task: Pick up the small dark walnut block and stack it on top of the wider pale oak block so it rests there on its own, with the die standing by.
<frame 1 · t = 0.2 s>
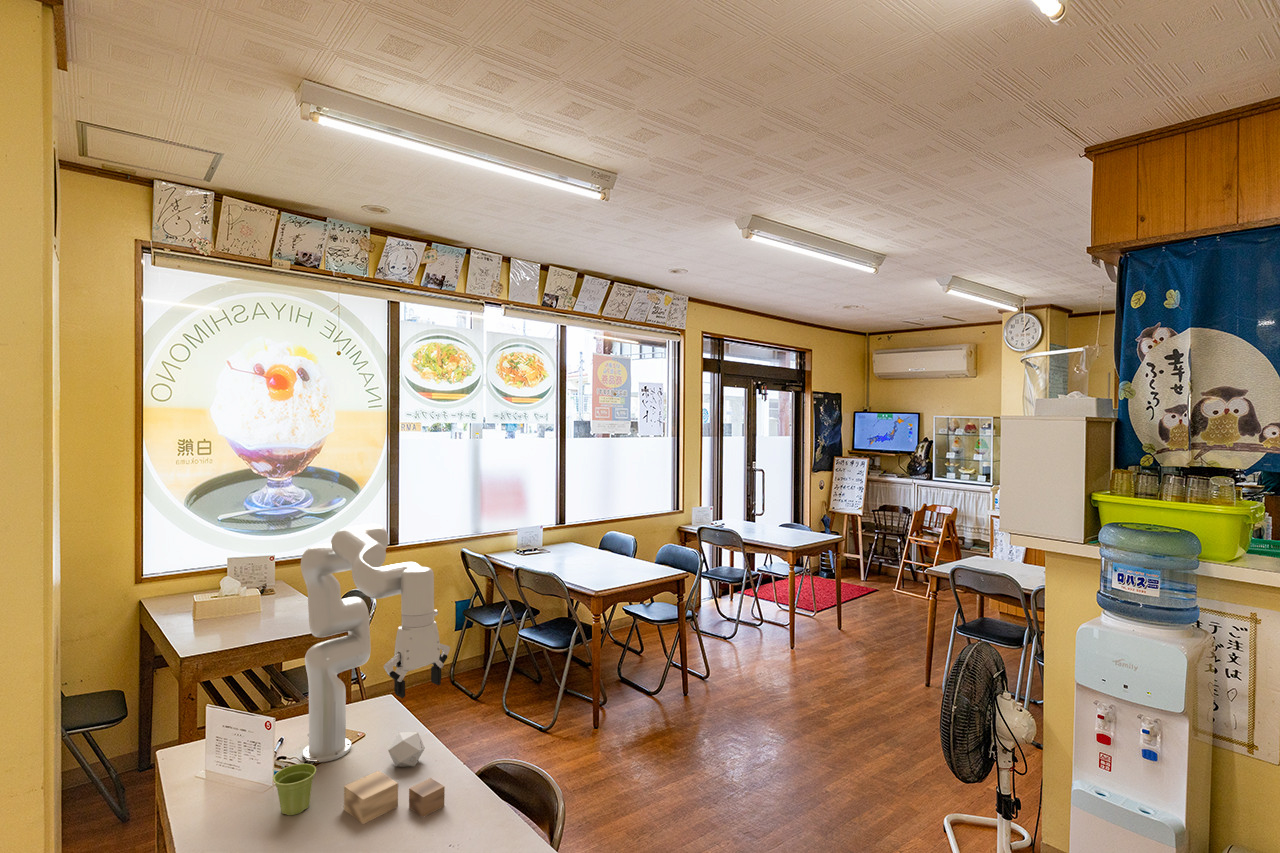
hand: (418, 689, 160), 30 cm above the table, fingers open, 9 cm apart
walnut block: (426, 807, 162), on the table
plant pot: (294, 809, 161), on the table
oak base: (371, 808, 162), on the table
die: (406, 764, 183), on the table
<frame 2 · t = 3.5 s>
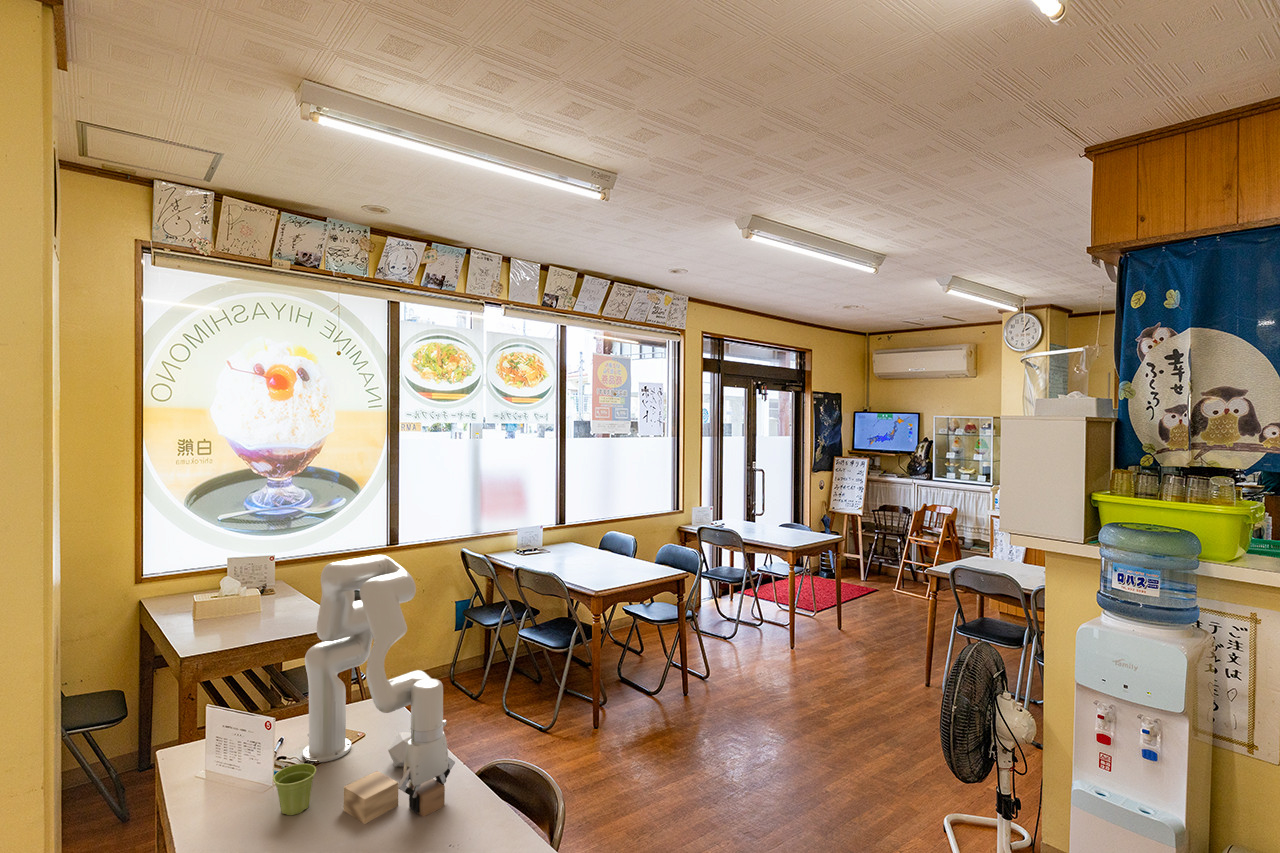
hand: (426, 803, 162), 1 cm above the table, fingers closed on walnut block, 6 cm apart
walnut block: (426, 806, 162), on the table, touching gripper
everything else where it was.
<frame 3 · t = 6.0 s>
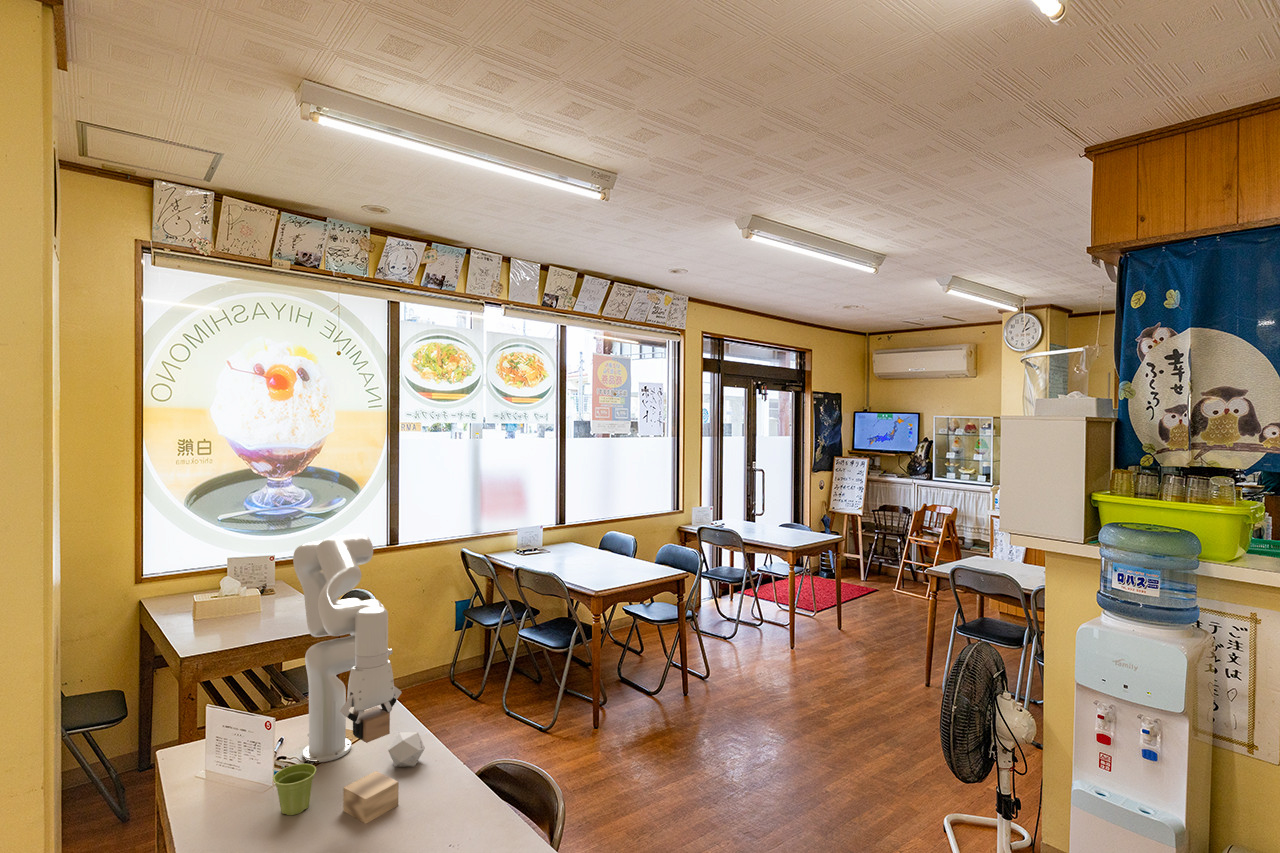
hand: (371, 731, 161), 19 cm above the table, fingers closed on walnut block, 6 cm apart
walnut block: (371, 734, 161), point 18 cm above the table, touching gripper
everything else where it was.
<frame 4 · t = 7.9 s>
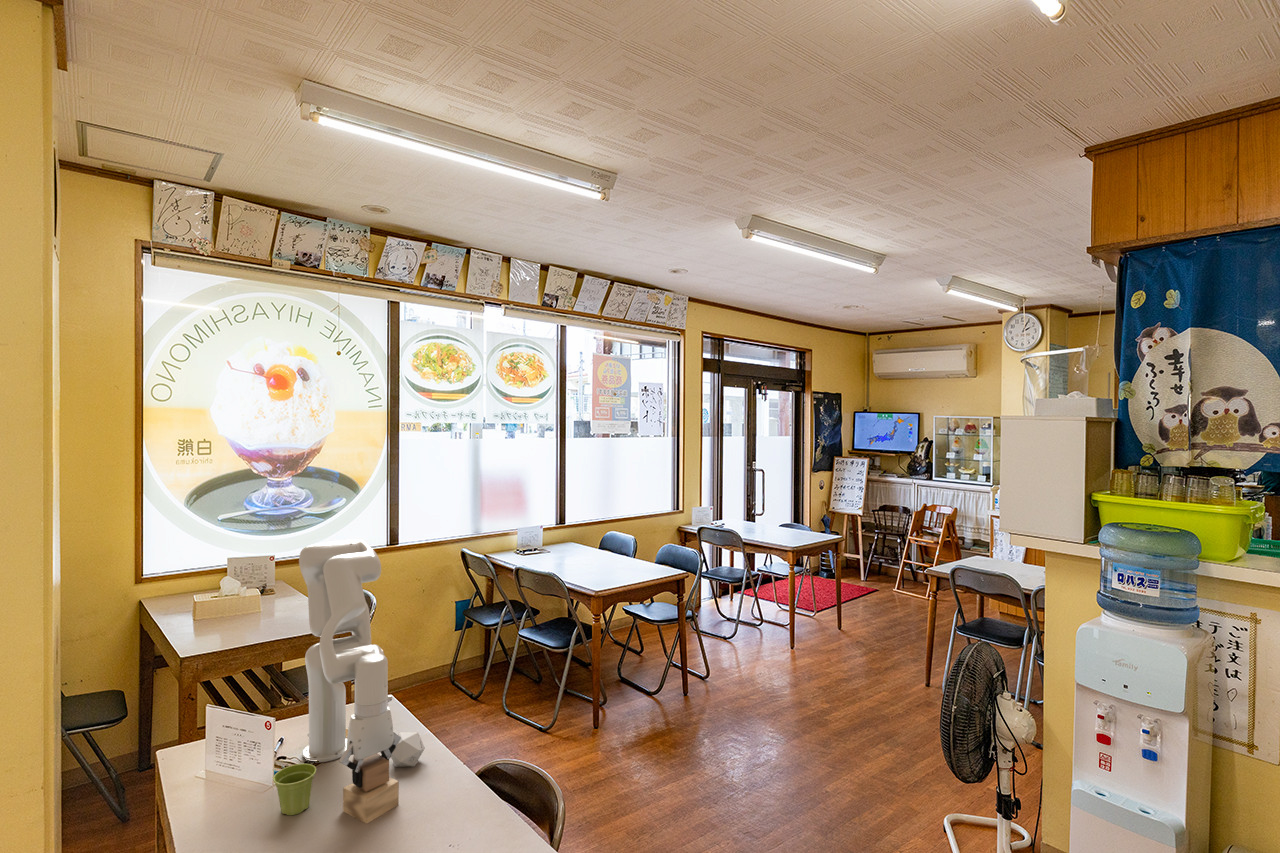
hand: (371, 778, 162), 7 cm above the table, fingers closed on walnut block, 6 cm apart
walnut block: (371, 781, 162), point 6 cm above the table, touching gripper
everything else where it was.
when the fingers open (7 cm above the table, at t = 9.0 s): walnut block stays where it is, resting on oak base.
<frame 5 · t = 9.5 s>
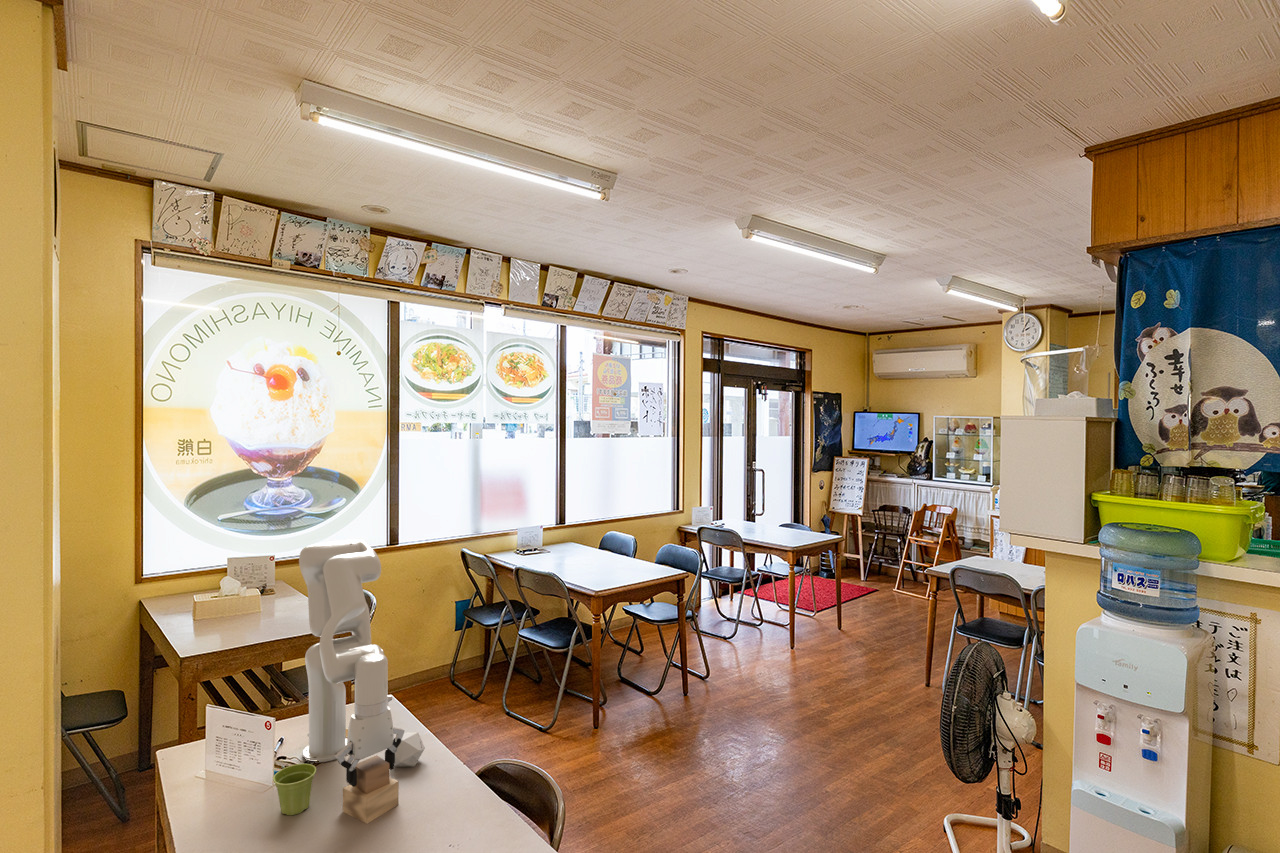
hand: (371, 775, 162), 8 cm above the table, fingers open, 9 cm apart
walnut block: (371, 784, 162), point 6 cm above the table, touching oak base
oak base: (370, 808, 162), on the table, touching walnut block
everything else where it was.
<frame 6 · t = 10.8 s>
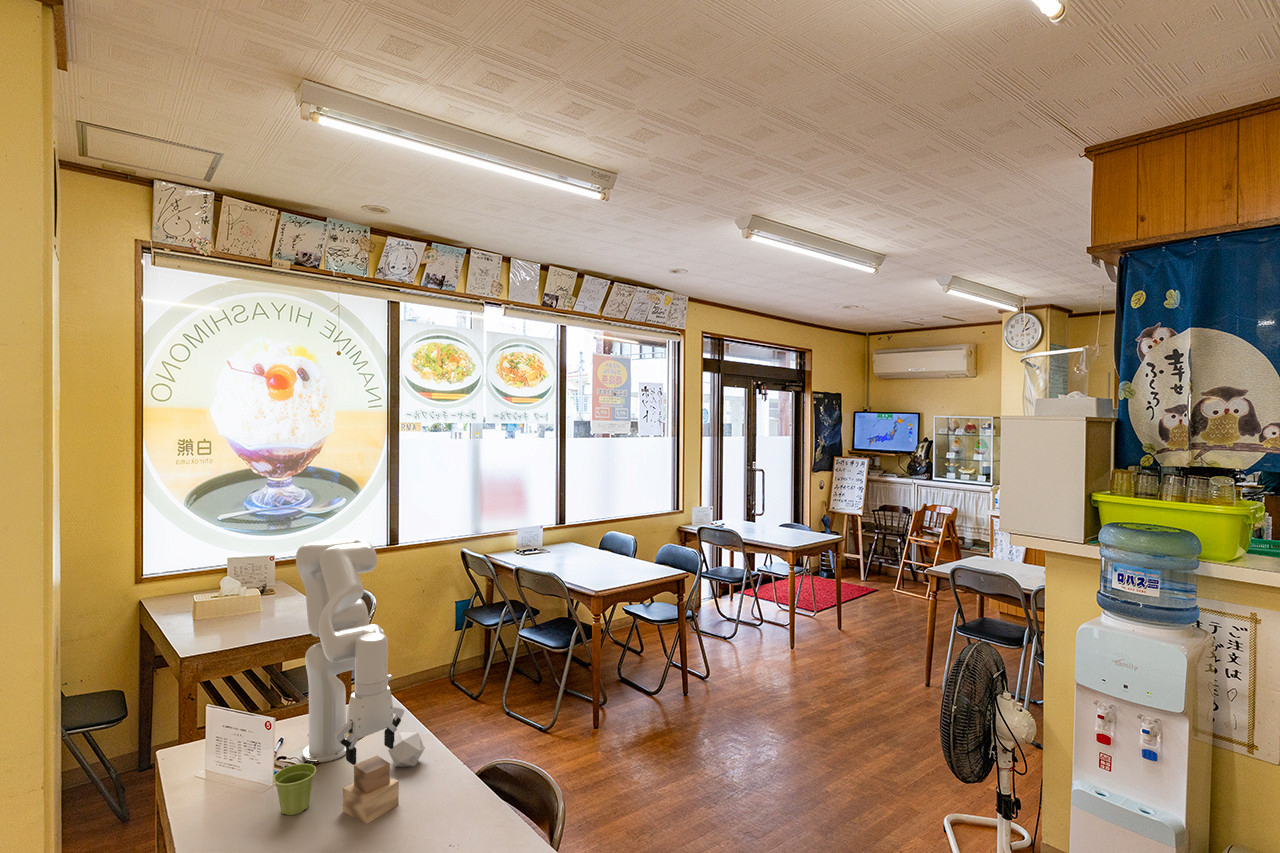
hand: (370, 754, 162), 13 cm above the table, fingers open, 9 cm apart
nothing on the table moved.
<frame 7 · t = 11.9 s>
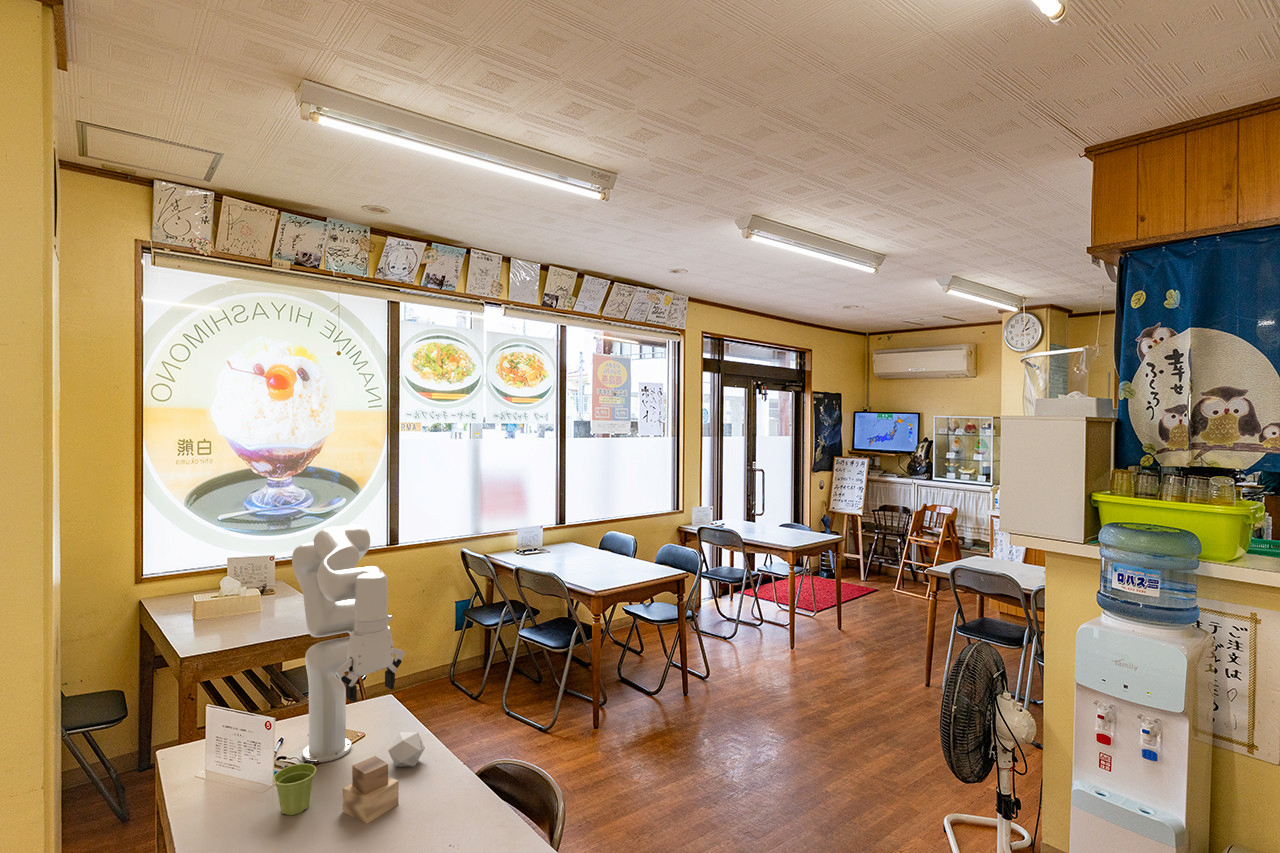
hand: (371, 694, 161), 28 cm above the table, fingers open, 9 cm apart
nothing on the table moved.
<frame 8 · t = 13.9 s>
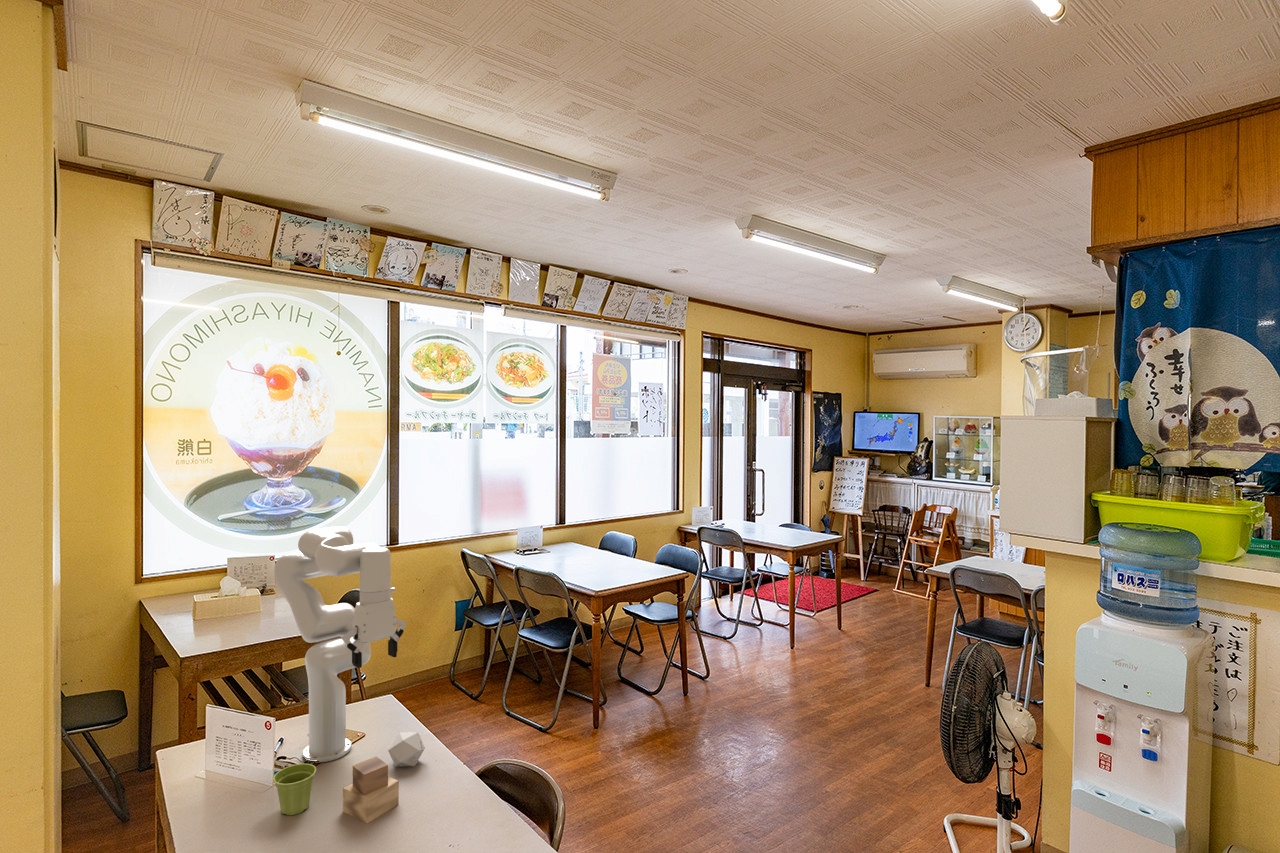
hand: (375, 661, 172), 32 cm above the table, fingers open, 9 cm apart
nothing on the table moved.
at the end: walnut block inside the target area on the oak base (0.5 cm from its centre), point 6.0 cm above the oak base's base; walnut block touching oak base; walnut block tilted 0° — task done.
